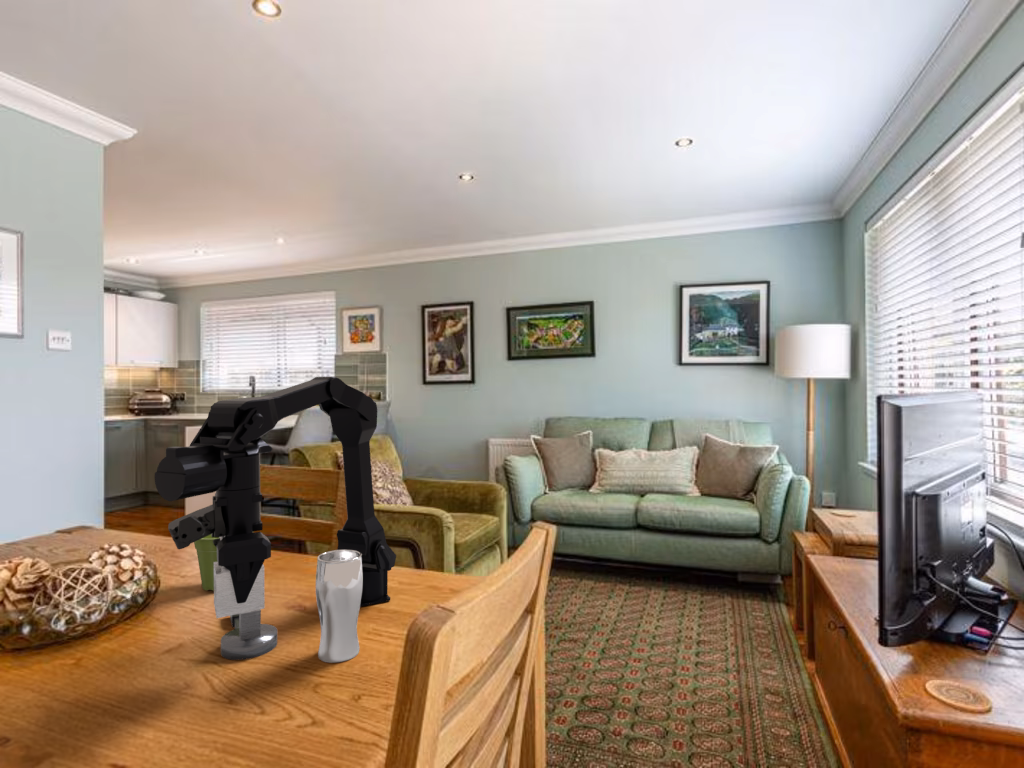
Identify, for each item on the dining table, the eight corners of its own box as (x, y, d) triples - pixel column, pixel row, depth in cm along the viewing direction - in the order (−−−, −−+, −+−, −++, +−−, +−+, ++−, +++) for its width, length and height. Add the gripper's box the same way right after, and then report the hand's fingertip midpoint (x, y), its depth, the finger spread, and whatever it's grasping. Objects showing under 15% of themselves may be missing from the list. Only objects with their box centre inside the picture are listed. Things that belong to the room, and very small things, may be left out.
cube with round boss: (259, 594, 82) (258, 545, 82) (264, 608, 76) (264, 555, 76) (214, 603, 78) (213, 551, 78) (216, 618, 73) (216, 563, 73)
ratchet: (280, 651, 83) (281, 612, 84) (222, 665, 79) (222, 624, 79) (265, 610, 99) (265, 577, 99) (216, 619, 95) (216, 585, 95)
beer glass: (371, 646, 85) (372, 551, 85) (343, 667, 78) (344, 564, 79) (334, 640, 87) (335, 547, 88) (304, 660, 81) (305, 559, 81)
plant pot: (266, 582, 114) (266, 529, 114) (209, 600, 104) (210, 542, 104) (234, 572, 120) (234, 522, 120) (177, 588, 110) (178, 533, 110)
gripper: (172, 482, 81) (173, 586, 81) (171, 506, 65) (172, 634, 65) (254, 475, 87) (254, 572, 87) (271, 495, 71) (272, 613, 71)
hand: (239, 595), depth 78 cm, fingers closed on cube with round boss, 6 cm apart
